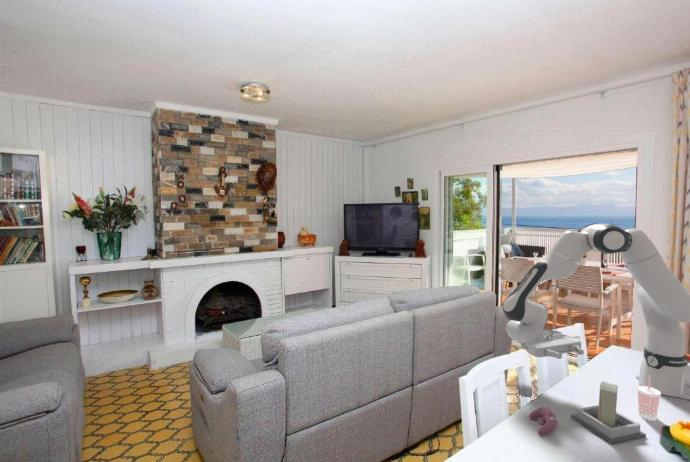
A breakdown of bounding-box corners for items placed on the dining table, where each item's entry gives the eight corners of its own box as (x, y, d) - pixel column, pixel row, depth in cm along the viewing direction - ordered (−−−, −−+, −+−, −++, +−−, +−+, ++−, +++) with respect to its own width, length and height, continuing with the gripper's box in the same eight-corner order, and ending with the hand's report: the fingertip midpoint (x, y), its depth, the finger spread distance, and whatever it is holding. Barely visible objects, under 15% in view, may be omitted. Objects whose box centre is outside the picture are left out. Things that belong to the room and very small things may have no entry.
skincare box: (599, 417, 119) (600, 380, 118) (616, 422, 116) (617, 385, 116) (597, 426, 114) (598, 388, 114) (615, 431, 112) (616, 392, 111)
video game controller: (551, 442, 111) (563, 423, 110) (537, 434, 111) (549, 415, 110) (540, 423, 120) (551, 405, 119) (527, 416, 121) (537, 398, 120)
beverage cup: (658, 414, 122) (660, 374, 121) (661, 424, 117) (663, 381, 116) (634, 409, 125) (636, 369, 124) (636, 418, 120) (638, 376, 119)
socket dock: (602, 412, 124) (602, 402, 124) (645, 437, 110) (646, 426, 110) (571, 418, 120) (571, 407, 120) (612, 444, 107) (612, 433, 107)
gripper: (517, 336, 138) (546, 349, 125) (562, 330, 144) (594, 342, 130) (518, 352, 139) (546, 367, 125) (561, 345, 144) (594, 359, 131)
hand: (571, 354), depth 128 cm, fingers open, 8 cm apart
